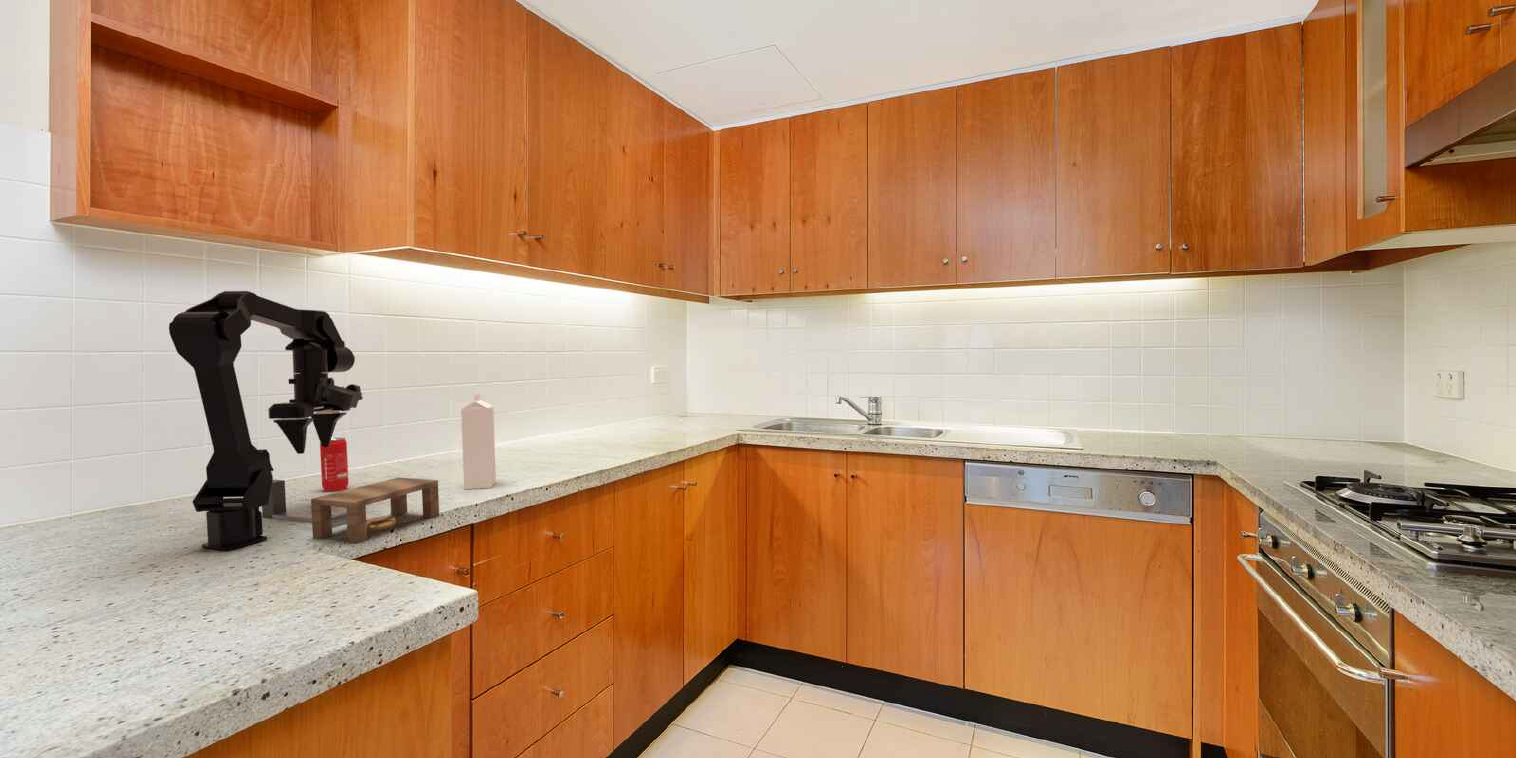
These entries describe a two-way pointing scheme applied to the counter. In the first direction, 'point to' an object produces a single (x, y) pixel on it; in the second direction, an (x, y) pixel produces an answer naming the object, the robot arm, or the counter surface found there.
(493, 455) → the milk
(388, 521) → the brass token
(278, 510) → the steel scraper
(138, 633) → the counter surface
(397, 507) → the walnut bench
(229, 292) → the robot arm
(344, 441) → the beverage can
